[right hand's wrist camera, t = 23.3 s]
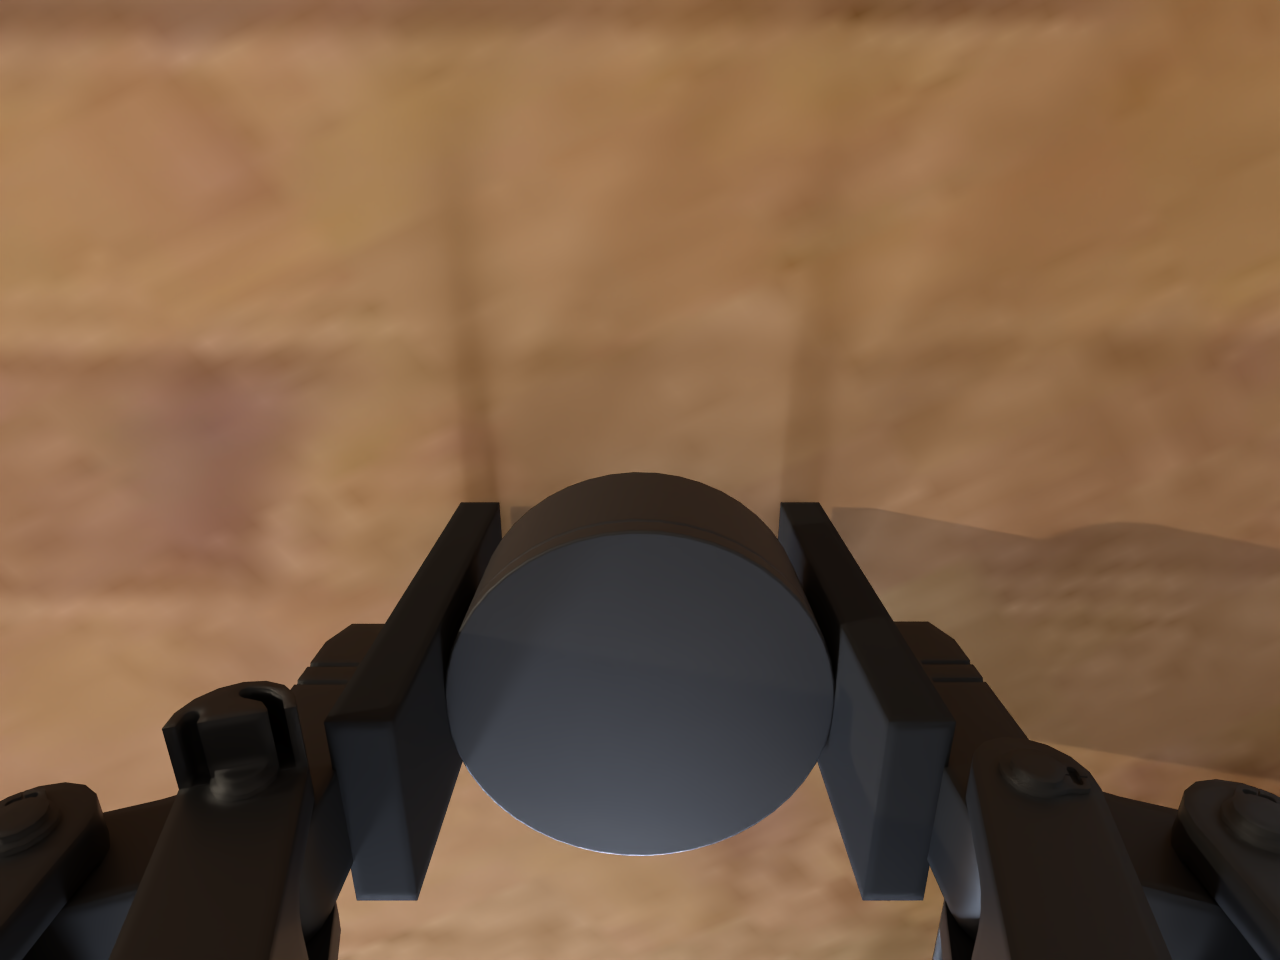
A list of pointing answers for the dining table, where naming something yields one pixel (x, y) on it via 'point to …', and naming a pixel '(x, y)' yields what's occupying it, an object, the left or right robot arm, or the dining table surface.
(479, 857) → the dining table surface
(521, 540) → the lid
